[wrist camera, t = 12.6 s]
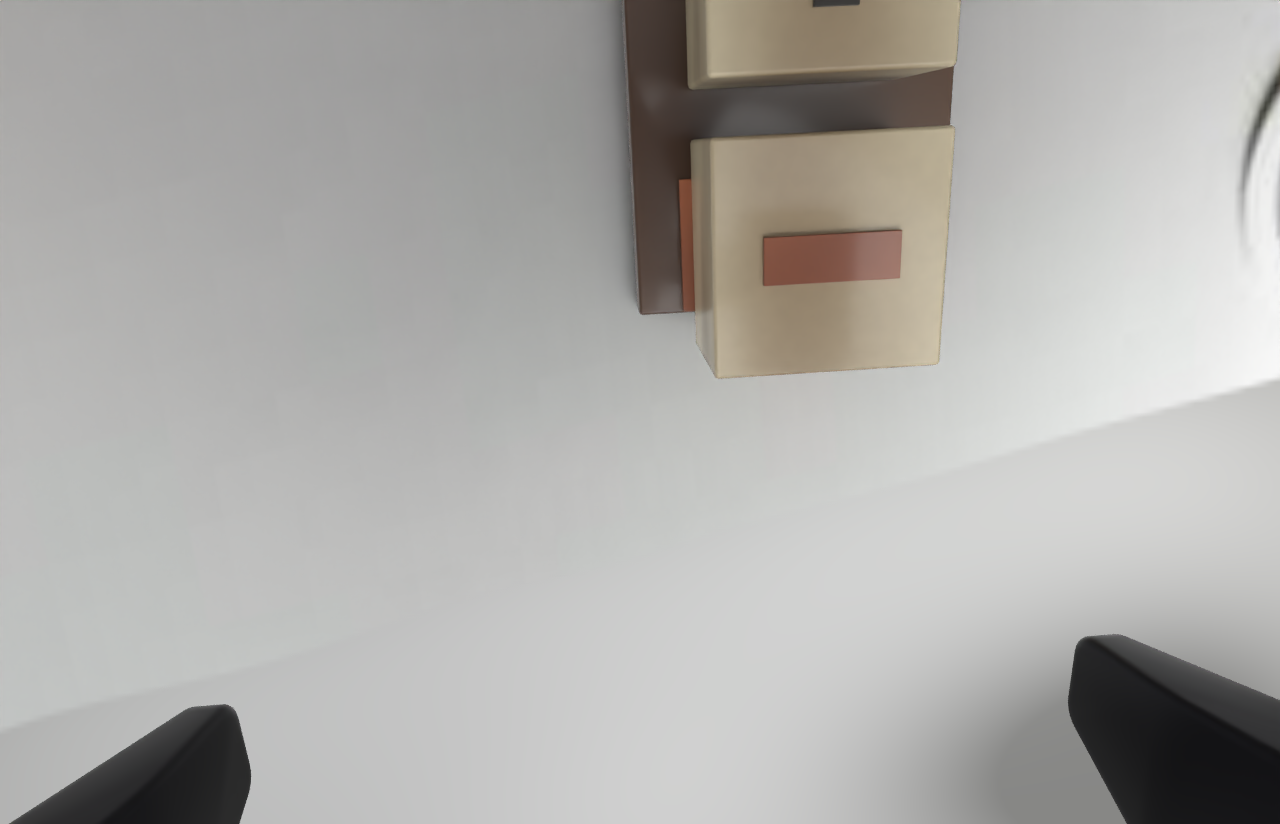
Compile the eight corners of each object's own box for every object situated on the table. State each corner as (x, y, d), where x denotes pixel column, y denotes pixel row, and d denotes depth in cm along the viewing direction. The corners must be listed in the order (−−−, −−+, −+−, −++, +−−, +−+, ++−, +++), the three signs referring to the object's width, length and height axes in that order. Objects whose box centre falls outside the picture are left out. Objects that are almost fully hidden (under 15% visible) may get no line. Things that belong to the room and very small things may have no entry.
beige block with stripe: (896, 128, 17) (960, 124, 14) (887, 332, 19) (943, 367, 16) (690, 139, 17) (710, 137, 14) (695, 344, 19) (715, 381, 16)
